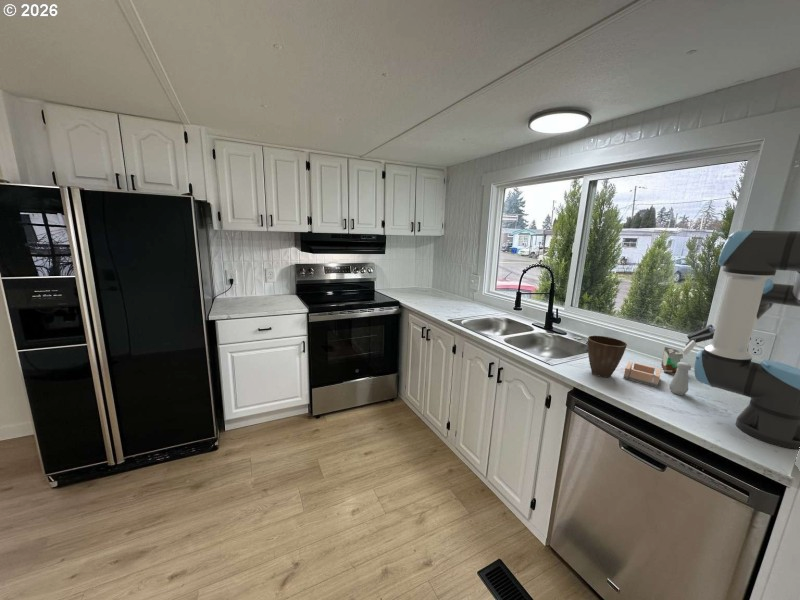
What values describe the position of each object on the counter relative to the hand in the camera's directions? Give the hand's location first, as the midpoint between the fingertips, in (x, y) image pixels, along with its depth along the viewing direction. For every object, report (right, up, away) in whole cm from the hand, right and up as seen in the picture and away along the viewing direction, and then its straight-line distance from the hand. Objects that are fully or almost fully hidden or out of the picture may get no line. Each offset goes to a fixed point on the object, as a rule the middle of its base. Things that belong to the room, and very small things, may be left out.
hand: (701, 358), depth 130 cm
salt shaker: (-10, -14, 0) cm, 17 cm away
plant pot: (-31, -10, +16) cm, 36 cm away
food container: (+7, -10, +23) cm, 26 cm away
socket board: (-15, -11, +13) cm, 23 cm away
